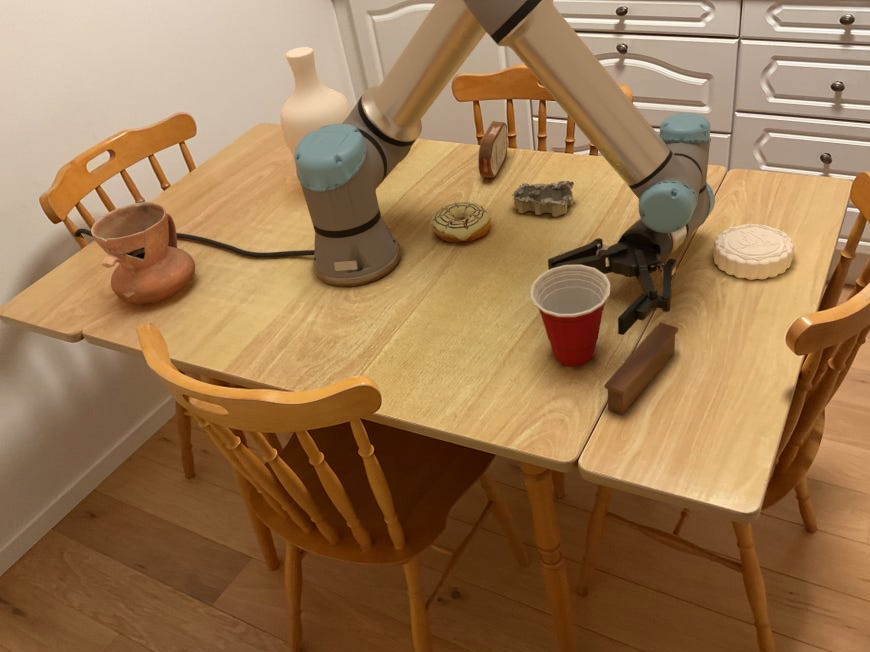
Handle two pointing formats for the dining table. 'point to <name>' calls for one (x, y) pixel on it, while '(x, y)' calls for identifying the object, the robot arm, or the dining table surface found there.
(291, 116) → the vase
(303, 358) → the dining table surface
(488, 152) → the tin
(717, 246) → the mooncake
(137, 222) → the ceramic jug
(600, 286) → the plastic cup
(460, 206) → the decorated donut
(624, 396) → the walnut rail
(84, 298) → the dining table surface
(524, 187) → the egg carton
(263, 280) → the dining table surface
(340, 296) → the dining table surface
